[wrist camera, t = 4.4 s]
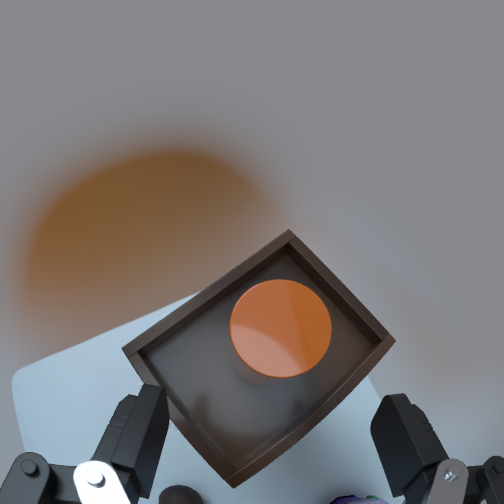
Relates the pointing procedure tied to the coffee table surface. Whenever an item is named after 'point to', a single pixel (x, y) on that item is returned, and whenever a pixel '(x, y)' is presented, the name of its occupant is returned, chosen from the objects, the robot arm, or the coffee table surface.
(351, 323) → the walnut tray stand
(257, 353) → the orange glossy cylinder
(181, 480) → the coffee table surface
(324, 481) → the coffee table surface
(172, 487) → the figurine
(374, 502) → the potion bottle
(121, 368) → the coffee table surface
